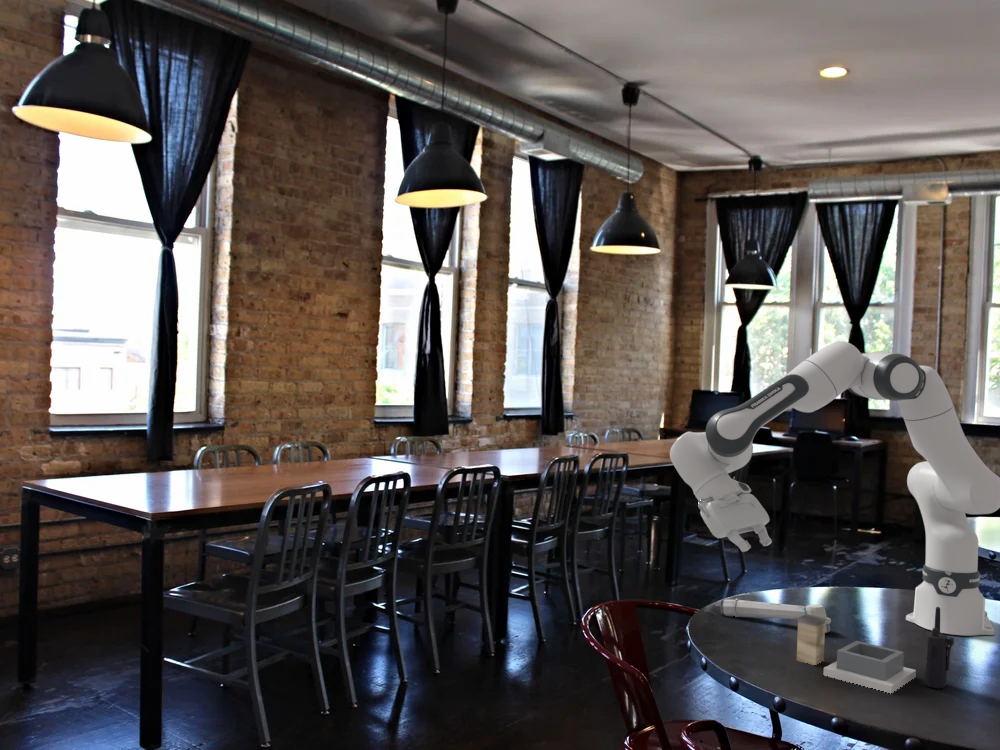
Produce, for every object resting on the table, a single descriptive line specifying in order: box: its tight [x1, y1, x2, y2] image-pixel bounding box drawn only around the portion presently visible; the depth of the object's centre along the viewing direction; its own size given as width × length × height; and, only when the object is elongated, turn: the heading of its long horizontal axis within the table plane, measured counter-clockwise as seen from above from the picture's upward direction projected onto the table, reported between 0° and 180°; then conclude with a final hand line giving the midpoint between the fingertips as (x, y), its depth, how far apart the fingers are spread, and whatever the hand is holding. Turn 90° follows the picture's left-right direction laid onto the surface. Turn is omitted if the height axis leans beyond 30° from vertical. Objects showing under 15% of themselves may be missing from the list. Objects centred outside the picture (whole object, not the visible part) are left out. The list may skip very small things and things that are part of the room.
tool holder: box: [823, 640, 917, 695], centre depth 174 cm, size 13×13×5 cm
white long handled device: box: [719, 598, 832, 634], centre depth 209 cm, size 5×7×25 cm
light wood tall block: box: [796, 614, 826, 666], centre depth 183 cm, size 4×4×9 cm
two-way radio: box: [925, 607, 955, 690], centre depth 170 cm, size 6×4×15 cm
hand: (758, 547), depth 191 cm, fingers open, 8 cm apart
